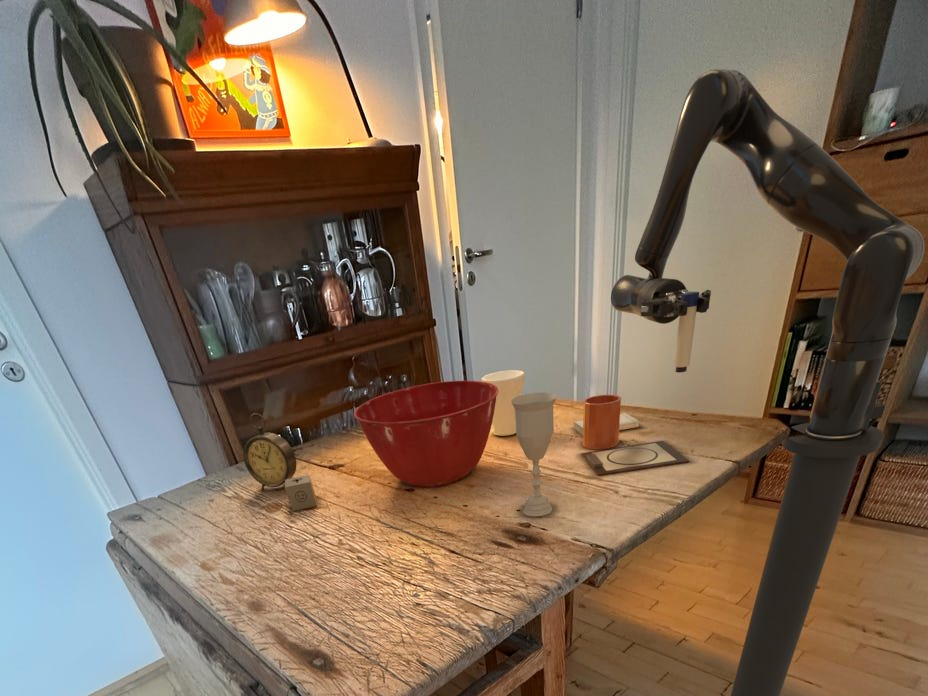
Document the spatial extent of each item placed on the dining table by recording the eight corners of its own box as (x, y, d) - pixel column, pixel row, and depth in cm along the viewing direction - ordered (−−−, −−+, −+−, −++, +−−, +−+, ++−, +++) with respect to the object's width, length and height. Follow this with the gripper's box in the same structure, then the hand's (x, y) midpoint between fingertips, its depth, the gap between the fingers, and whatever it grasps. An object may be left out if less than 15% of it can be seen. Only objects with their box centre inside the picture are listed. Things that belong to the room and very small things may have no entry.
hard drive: (585, 430, 115) (639, 420, 116) (573, 421, 122) (624, 411, 122) (585, 437, 116) (638, 427, 117) (573, 428, 123) (624, 419, 123)
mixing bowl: (481, 503, 95) (472, 415, 85) (347, 502, 105) (326, 423, 95) (518, 451, 115) (513, 375, 106) (403, 454, 125) (390, 385, 116)
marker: (685, 368, 103) (695, 291, 95) (691, 371, 101) (702, 292, 93) (670, 371, 103) (678, 293, 95) (676, 373, 101) (685, 294, 93)
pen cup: (612, 436, 114) (614, 392, 109) (623, 446, 108) (625, 400, 103) (579, 441, 115) (579, 398, 109) (587, 451, 109) (588, 406, 103)
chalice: (562, 515, 86) (561, 400, 75) (521, 521, 86) (515, 407, 75) (552, 499, 92) (550, 390, 81) (514, 505, 92) (507, 397, 81)
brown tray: (662, 442, 107) (663, 437, 106) (688, 462, 97) (689, 456, 96) (580, 454, 108) (580, 449, 107) (597, 475, 97) (597, 470, 97)
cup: (532, 426, 129) (529, 368, 121) (520, 439, 122) (516, 379, 114) (494, 427, 133) (490, 371, 125) (480, 440, 126) (475, 381, 118)
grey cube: (316, 497, 110) (309, 474, 107) (316, 505, 106) (309, 482, 103) (292, 502, 109) (284, 479, 106) (292, 511, 105) (284, 487, 102)
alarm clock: (254, 493, 118) (226, 418, 108) (266, 484, 122) (241, 411, 112) (296, 491, 114) (271, 414, 105) (307, 482, 118) (284, 407, 109)
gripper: (627, 284, 105) (658, 288, 91) (697, 272, 104) (739, 275, 90) (625, 326, 109) (654, 337, 96) (692, 315, 109) (731, 324, 95)
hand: (695, 307), depth 93 cm, fingers closed on marker, 3 cm apart
